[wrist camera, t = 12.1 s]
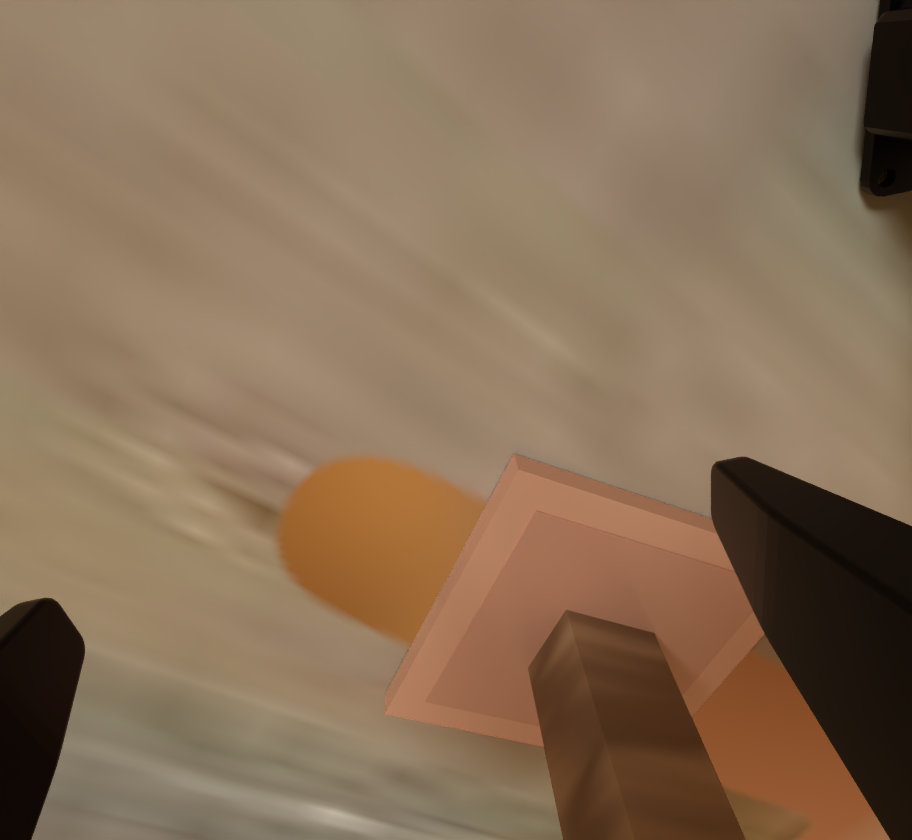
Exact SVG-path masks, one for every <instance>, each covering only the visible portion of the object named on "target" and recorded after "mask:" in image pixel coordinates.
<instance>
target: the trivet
mask: <svg viewBox="0 0 912 840" xmlns="http://www.w3.org/2000/svg"><path fill="white" fill-rule="evenodd" d="M566 610H569V611H573V612H577V613H581V614H584V615H588V616H592V617H596V618H600V619H603V620H607V621H611V622H615V623H618V624H622V625H626V626H630V627H634V628H637V629H641V630H645V631H649V632H652V633H655V636H656V638H657V640H658V642H659V645H660V647H661V649H662V651H663V654H664V656H665V658H666V661H667V663H668V665H669V667H670V670H671V672H672V674H673V676H674V679H675V681H676V683H677V685H678V688H679V690H680V692H681V694H682V697H683V699H684V701H685V704H686V706H687V708H688V710H689V713H690V715H691V717H693V716H694V714H695V713H696V712H697V711H698V710H699V709H700V707H701V706H702V705H703V704H704V703H705V702H706V701H707V699H708V698H709V697H710V696H711V695H712V694H713V693H714V691H715V690H716V689H717V688H718V687H719V686H720V685H721V683H722V682H723V681H724V680H725V679H726V678H727V676H728V675H729V674H730V673H731V672H732V671H733V669H734V668H735V667H736V666H737V665H738V664H739V663H740V662H741V660H742V659H743V658H744V657H745V656H746V655H747V654H748V652H749V651H750V650H751V649H752V648H753V647H754V645H755V644H756V643H757V642H758V641H759V640H760V639H761V637H762V636H763V635H764V634H765V633H764V632H763V630H762V628H761V626H760V624H759V622H758V620H757V618H756V616H755V614H754V612H753V610H752V608H751V605H750V603H749V601H748V599H747V597H746V595H745V592H744V590H743V588H742V586H741V584H740V582H739V580H738V577H737V575H736V573H735V571H734V569H733V567H732V564H731V562H730V560H729V558H728V556H727V554H726V552H725V549H724V547H723V545H722V543H721V541H720V539H719V536H718V534H717V532H716V530H715V527H714V524H713V521H712V519H710V518H707V517H704V516H701V515H698V514H695V513H692V512H689V511H686V510H683V509H680V508H677V507H674V506H671V505H668V504H665V503H662V502H659V501H656V500H653V499H650V498H647V497H644V496H641V495H638V494H635V493H632V492H629V491H626V490H622V489H619V488H616V487H613V486H610V485H607V484H604V483H601V482H598V481H595V480H592V479H589V478H586V477H583V476H580V475H577V474H574V473H571V472H568V471H565V470H562V469H559V468H556V467H553V466H550V465H547V464H544V463H541V462H538V461H535V460H532V459H529V458H526V457H522V456H519V455H516V454H514V455H513V456H512V458H511V460H510V462H509V464H508V466H507V468H506V470H505V471H504V473H503V475H502V477H501V479H500V481H499V483H498V484H497V486H496V488H495V490H494V492H493V494H492V496H491V498H490V499H489V501H488V503H487V505H486V507H485V509H484V511H483V513H482V514H481V517H480V518H479V520H478V522H477V524H476V526H475V527H474V529H473V531H472V533H471V535H470V537H469V539H468V540H467V542H466V544H465V546H464V548H463V550H462V552H461V554H460V556H459V557H458V559H457V561H456V563H455V565H454V567H453V568H452V571H451V572H450V574H449V576H448V578H447V580H446V582H445V583H444V585H443V587H442V589H441V591H440V593H439V595H438V596H437V598H436V600H435V602H434V604H433V606H432V608H431V610H430V611H429V613H428V615H427V617H426V619H425V621H424V623H423V625H422V626H421V628H420V630H419V632H418V634H417V636H416V638H415V639H414V641H413V643H412V645H411V647H410V649H409V651H408V652H407V654H406V656H405V658H404V660H403V662H402V664H401V666H400V667H399V669H398V671H397V673H396V675H395V677H394V679H393V680H392V682H391V684H390V686H389V688H388V690H387V692H386V694H385V714H387V715H392V716H397V717H401V718H406V719H411V720H416V721H421V722H426V723H430V724H435V725H440V726H445V727H450V728H455V729H459V730H464V731H469V732H474V733H479V734H484V735H488V736H493V737H498V738H503V739H508V740H513V741H517V742H522V743H527V744H532V745H537V746H542V747H544V744H543V739H542V734H541V730H540V725H539V720H538V715H537V710H536V705H535V701H534V696H533V691H532V686H531V681H530V676H529V672H528V667H529V665H530V664H531V662H532V661H533V659H534V658H535V656H536V655H537V653H538V652H539V650H540V649H541V647H542V646H543V644H544V643H545V641H546V639H547V638H548V636H549V635H550V633H551V632H552V630H553V629H554V627H555V626H556V624H557V623H558V621H559V620H560V618H561V617H562V615H563V614H564V612H565V611H566Z"/></svg>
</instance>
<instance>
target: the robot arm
mask: <svg viewBox="0 0 912 840" xmlns="http://www.w3.org/2000/svg"><path fill="white" fill-rule="evenodd" d="M864 126H865V127H866V133H865V142H864V151H863V160H862V169H861V178H860V181H861V187H862V189H863V190H864V191H865V192H867V193H869V194H872V195H875V196H888V195H893V194H898V193H902V192H907V191H912V0H880V8H879V17H878V21H877V23H876V24H875V27H874V34H873V43H872V52H871V62H870V71H869V80H868V89H867V98H866V107H865V116H864ZM884 170H886V171H887V175H886V178H885V180H884V181H883V182H882V183H880V184H878V178H879V175H880V174H881V173H882V172H883V171H884ZM711 516H712V521H713V524H714V527H715V530H716V532H717V534H718V536H719V539H720V541H721V543H722V545H723V547H724V549H725V552H726V554H727V556H728V558H729V560H730V562H731V564H732V567H733V569H734V571H735V573H736V575H737V577H738V580H739V582H740V584H741V586H742V588H743V590H744V592H745V595H746V597H747V599H748V601H749V603H750V605H751V608H752V610H753V612H754V614H755V616H756V618H757V620H758V622H759V624H760V626H761V628H762V630H763V632H764V633H765V635H766V637H767V638H768V640H769V642H770V644H771V645H772V647H773V649H774V650H775V652H776V654H777V655H778V657H779V658H780V660H781V662H782V663H783V665H784V667H785V668H786V670H787V672H788V673H789V675H790V676H791V678H792V680H793V681H794V683H795V685H796V686H797V688H798V689H799V691H800V693H801V694H802V696H803V698H804V699H805V701H806V702H807V704H808V705H809V707H810V709H811V711H812V712H813V714H814V716H815V717H816V719H817V720H818V722H819V724H820V725H821V727H822V729H823V730H824V732H825V734H826V735H827V737H828V738H829V740H830V742H831V743H832V745H833V747H834V748H835V750H836V751H837V753H838V755H839V756H840V758H841V760H842V761H843V763H844V765H845V766H846V768H847V769H848V771H849V772H850V774H851V776H852V778H853V779H854V781H855V782H856V784H857V786H858V787H859V789H860V791H861V792H862V794H863V796H864V797H865V799H866V800H867V802H868V804H869V805H870V807H871V808H872V810H873V812H874V813H875V815H876V817H877V818H878V820H879V822H880V823H881V825H882V827H883V828H884V830H885V831H886V833H887V835H888V836H889V838H890V840H912V526H910V525H908V524H905V523H903V522H901V521H898V520H896V519H894V518H891V517H889V516H886V515H884V514H882V513H879V512H877V511H875V510H872V509H870V508H867V507H865V506H863V505H860V504H858V503H855V502H853V501H851V500H848V499H846V498H844V497H841V496H839V495H836V494H834V493H832V492H829V491H827V490H825V489H822V488H820V487H817V486H815V485H813V484H810V483H808V482H805V481H803V480H801V479H798V478H796V477H794V476H791V475H789V474H786V473H784V472H782V471H779V470H777V469H775V468H772V467H770V466H767V465H765V464H763V463H760V462H758V461H756V460H753V459H751V458H748V457H737V458H732V459H727V460H722V461H718V462H716V463H715V464H714V465H713V466H712V470H711ZM84 656H85V645H84V641H83V638H82V636H81V634H80V633H79V631H78V630H77V629H76V627H75V626H74V624H73V623H72V621H71V620H70V619H69V617H68V616H67V614H66V613H65V611H64V610H63V608H62V607H61V606H60V604H59V603H58V602H57V601H55V600H54V599H52V598H41V599H36V600H31V601H26V602H22V603H19V604H17V605H15V606H14V607H12V608H11V609H10V610H8V611H7V612H5V613H4V614H3V615H1V616H0V840H31V839H32V836H33V833H34V831H35V828H36V825H37V822H38V819H39V816H40V814H41V811H42V808H43V805H44V802H45V799H46V796H47V794H48V791H49V788H50V785H51V782H52V779H53V776H54V773H55V770H56V767H57V763H58V760H59V756H60V753H61V749H62V745H63V741H64V737H65V733H66V729H67V725H68V721H69V717H70V713H71V709H72V705H73V701H74V697H75V693H76V689H77V685H78V681H79V677H80V672H81V668H82V664H83V660H84Z"/></svg>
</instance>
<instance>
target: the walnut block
mask: <svg viewBox="0 0 912 840" xmlns="http://www.w3.org/2000/svg"><path fill="white" fill-rule="evenodd" d="M528 672H529V676H530V681H531V686H532V691H533V696H534V701H535V705H536V710H537V715H538V720H539V725H540V730H541V734H542V739H543V744H544V749H545V754H546V759H547V763H548V768H549V773H550V778H551V783H552V787H553V792H554V797H555V802H556V807H557V812H558V816H559V821H560V826H561V831H562V836H563V840H746V839H745V837H744V835H743V833H742V830H741V828H740V826H739V823H738V821H737V819H736V817H735V814H734V812H733V810H732V808H731V805H730V803H729V801H728V799H727V796H726V794H725V792H724V790H723V787H722V785H721V783H720V780H719V778H718V776H717V774H716V772H715V769H714V767H713V765H712V762H711V760H710V758H709V756H708V753H707V751H706V749H705V747H704V744H703V742H702V740H701V737H700V735H699V733H698V731H697V729H696V726H695V724H694V722H693V719H692V717H691V715H690V713H689V710H688V708H687V706H686V704H685V701H684V699H683V697H682V694H681V692H680V690H679V688H678V685H677V683H676V681H675V679H674V676H673V674H672V672H671V670H670V667H669V665H668V663H667V661H666V658H665V656H664V654H663V651H662V649H661V647H660V645H659V642H658V640H657V638H656V636H655V633H652V632H649V631H645V630H641V629H637V628H634V627H630V626H626V625H622V624H618V623H615V622H611V621H607V620H603V619H600V618H596V617H592V616H588V615H584V614H581V613H577V612H573V611H569V610H566V611H565V612H564V614H563V615H562V617H561V618H560V620H559V621H558V623H557V624H556V626H555V627H554V629H553V630H552V632H551V633H550V635H549V636H548V638H547V639H546V641H545V643H544V644H543V646H542V647H541V649H540V650H539V652H538V653H537V655H536V656H535V658H534V659H533V661H532V662H531V664H530V665H529V667H528Z"/></svg>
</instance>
